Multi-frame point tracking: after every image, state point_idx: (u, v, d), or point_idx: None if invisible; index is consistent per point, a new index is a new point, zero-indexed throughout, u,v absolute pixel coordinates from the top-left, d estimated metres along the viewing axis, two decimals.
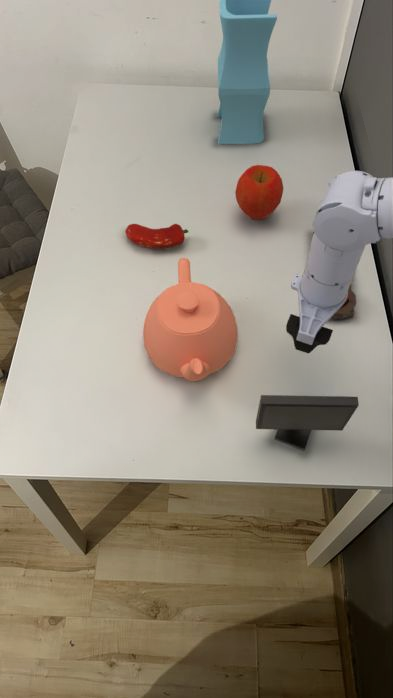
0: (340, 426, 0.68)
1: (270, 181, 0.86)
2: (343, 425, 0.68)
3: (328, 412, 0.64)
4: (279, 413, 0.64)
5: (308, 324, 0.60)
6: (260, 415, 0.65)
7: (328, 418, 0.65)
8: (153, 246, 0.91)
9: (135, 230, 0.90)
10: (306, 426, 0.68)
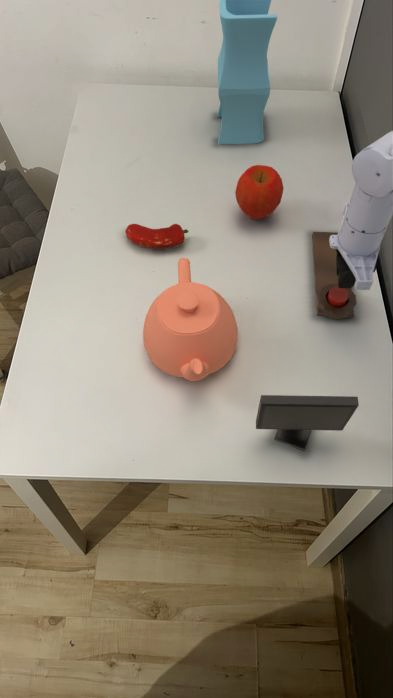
0: (340, 426, 0.68)
1: (270, 181, 0.86)
2: (343, 425, 0.68)
3: (328, 412, 0.64)
4: (279, 413, 0.64)
5: (362, 273, 0.68)
6: (260, 415, 0.65)
7: (328, 418, 0.65)
8: (153, 246, 0.91)
9: (135, 230, 0.90)
10: (306, 426, 0.68)
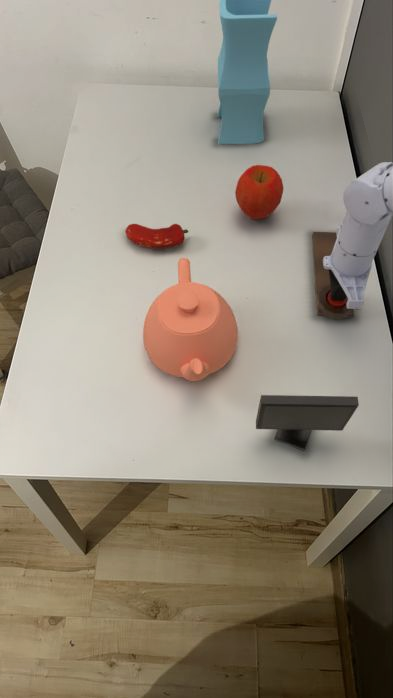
0: (340, 426, 0.68)
1: (270, 181, 0.86)
2: (343, 425, 0.68)
3: (328, 412, 0.64)
4: (279, 413, 0.64)
5: (353, 292, 0.72)
6: (260, 415, 0.65)
7: (328, 418, 0.65)
8: (153, 246, 0.91)
9: (135, 230, 0.90)
10: (306, 426, 0.68)
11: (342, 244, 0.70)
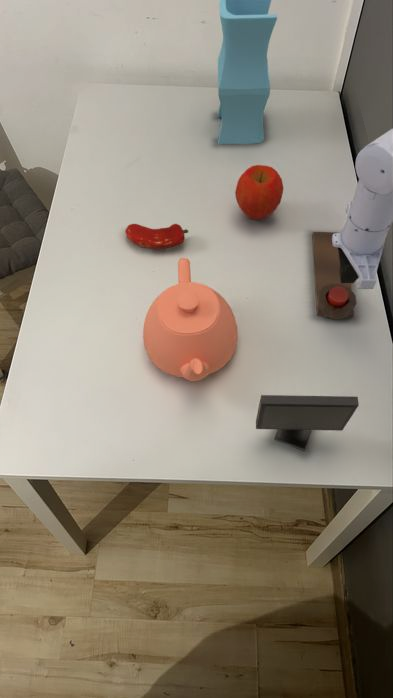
0: (340, 426, 0.68)
1: (270, 181, 0.86)
2: (343, 425, 0.68)
3: (328, 412, 0.64)
4: (279, 413, 0.64)
5: (365, 271, 0.67)
6: (260, 415, 0.65)
7: (328, 418, 0.65)
8: (153, 246, 0.91)
9: (135, 230, 0.90)
10: (306, 426, 0.68)
11: (353, 218, 0.64)
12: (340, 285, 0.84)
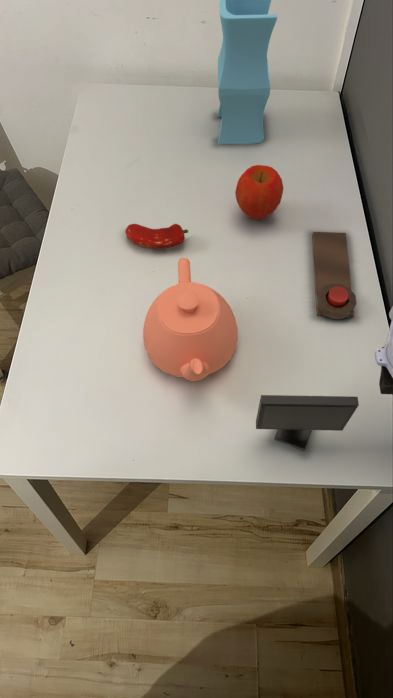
0: (340, 426, 0.68)
1: (270, 181, 0.86)
2: (343, 425, 0.68)
3: (328, 412, 0.64)
4: (279, 413, 0.64)
5: None
6: (260, 415, 0.65)
7: (328, 418, 0.65)
8: (153, 246, 0.91)
9: (135, 230, 0.90)
10: (306, 426, 0.68)
11: None
12: (340, 285, 0.84)
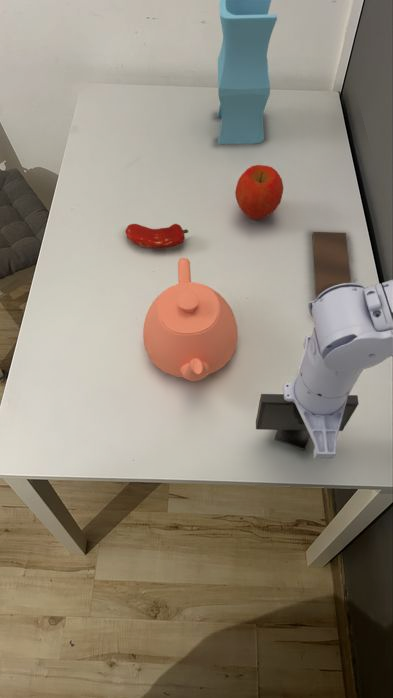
0: (340, 426, 0.68)
1: (270, 181, 0.86)
2: (343, 425, 0.68)
3: None
4: (279, 412, 0.64)
5: (322, 439, 0.53)
6: (260, 414, 0.65)
7: None
8: (153, 246, 0.91)
9: (135, 230, 0.90)
10: None
11: (327, 394, 0.50)
12: None
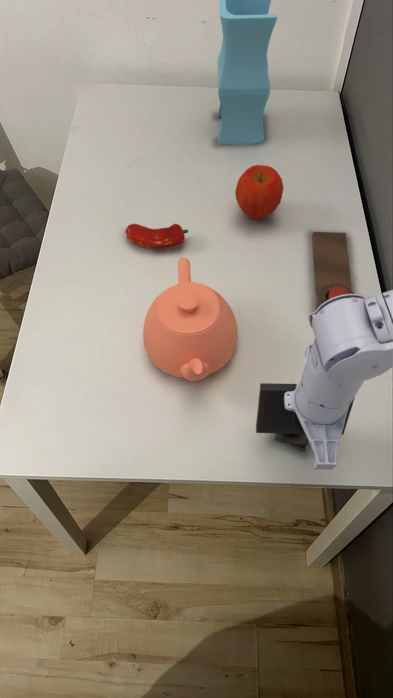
0: None
1: (270, 181, 0.86)
2: None
3: None
4: (279, 405, 0.65)
5: (323, 450, 0.53)
6: (260, 409, 0.66)
7: None
8: (153, 246, 0.91)
9: (135, 230, 0.90)
10: None
11: (330, 405, 0.50)
12: (340, 285, 0.84)
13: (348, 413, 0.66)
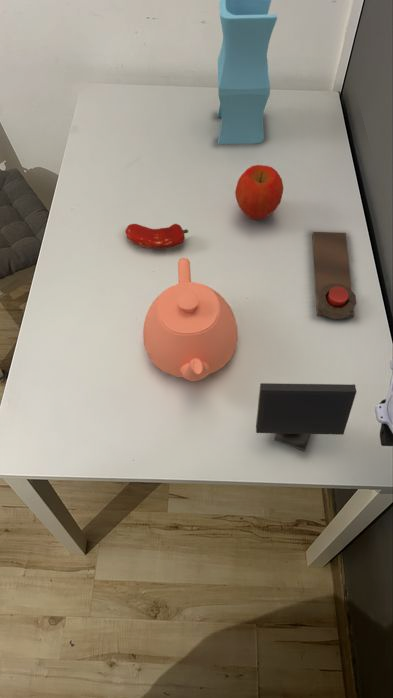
0: (341, 427, 0.68)
1: (270, 181, 0.86)
2: (343, 425, 0.67)
3: (327, 403, 0.64)
4: (279, 405, 0.65)
5: None
6: (260, 409, 0.66)
7: (328, 413, 0.66)
8: (153, 246, 0.91)
9: (135, 230, 0.90)
10: (306, 427, 0.68)
11: None
12: (340, 285, 0.84)
13: (348, 413, 0.66)
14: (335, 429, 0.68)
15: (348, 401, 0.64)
